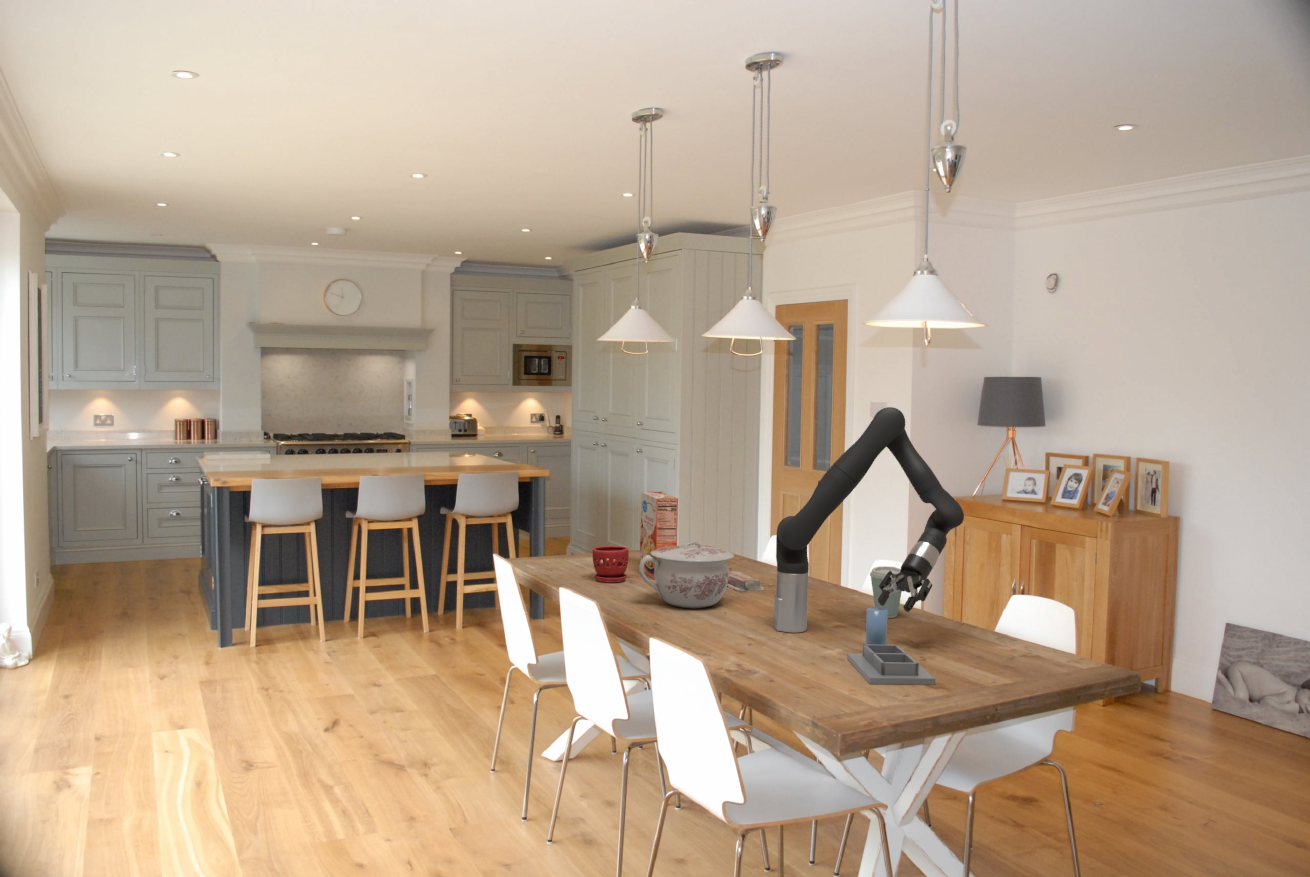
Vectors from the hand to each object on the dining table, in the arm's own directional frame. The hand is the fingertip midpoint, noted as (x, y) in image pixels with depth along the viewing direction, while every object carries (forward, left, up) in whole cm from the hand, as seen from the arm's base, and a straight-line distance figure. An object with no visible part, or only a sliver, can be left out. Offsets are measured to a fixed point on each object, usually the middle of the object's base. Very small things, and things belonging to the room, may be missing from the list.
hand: (892, 606), depth 264 cm
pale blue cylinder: (-6, -4, -12) cm, 14 cm away
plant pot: (-77, +91, -12) cm, 120 cm away
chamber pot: (-51, +54, -12) cm, 75 cm away
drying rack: (-7, -20, -12) cm, 24 cm away
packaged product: (-30, +84, -13) cm, 90 cm away
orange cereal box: (-59, +105, -12) cm, 121 cm away
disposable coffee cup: (+10, +41, -12) cm, 44 cm away
